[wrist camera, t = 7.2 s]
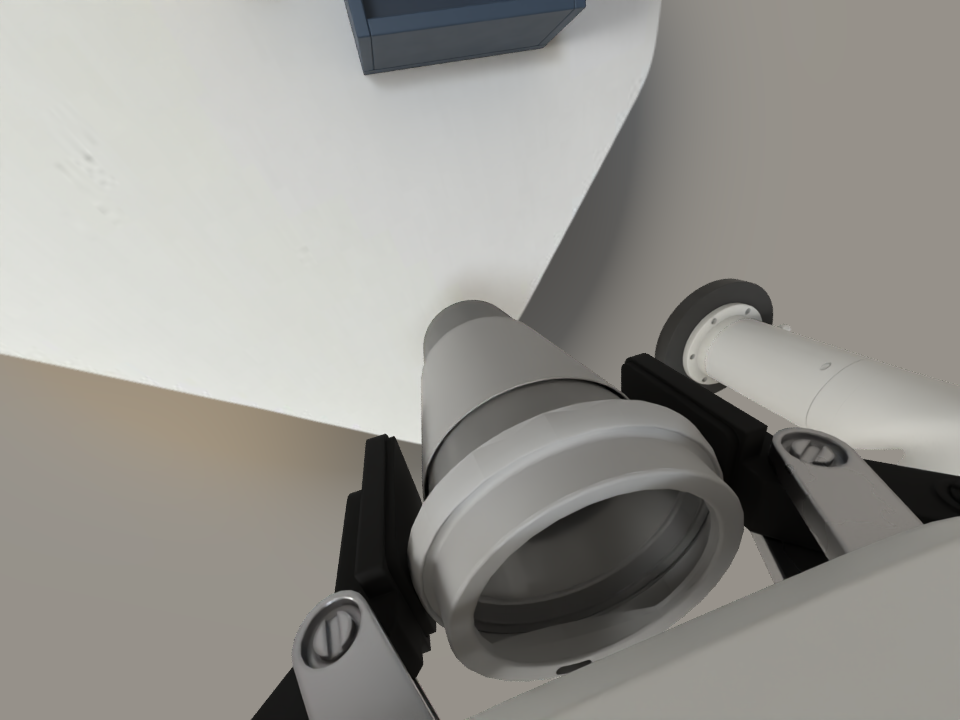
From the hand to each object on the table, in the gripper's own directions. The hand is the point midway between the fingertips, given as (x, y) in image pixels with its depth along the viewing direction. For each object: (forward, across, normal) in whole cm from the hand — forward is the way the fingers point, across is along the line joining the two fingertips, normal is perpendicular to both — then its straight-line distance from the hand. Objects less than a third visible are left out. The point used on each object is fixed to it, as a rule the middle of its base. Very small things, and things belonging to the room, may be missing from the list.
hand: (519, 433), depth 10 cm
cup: (+7, 0, 0) cm, 7 cm away
